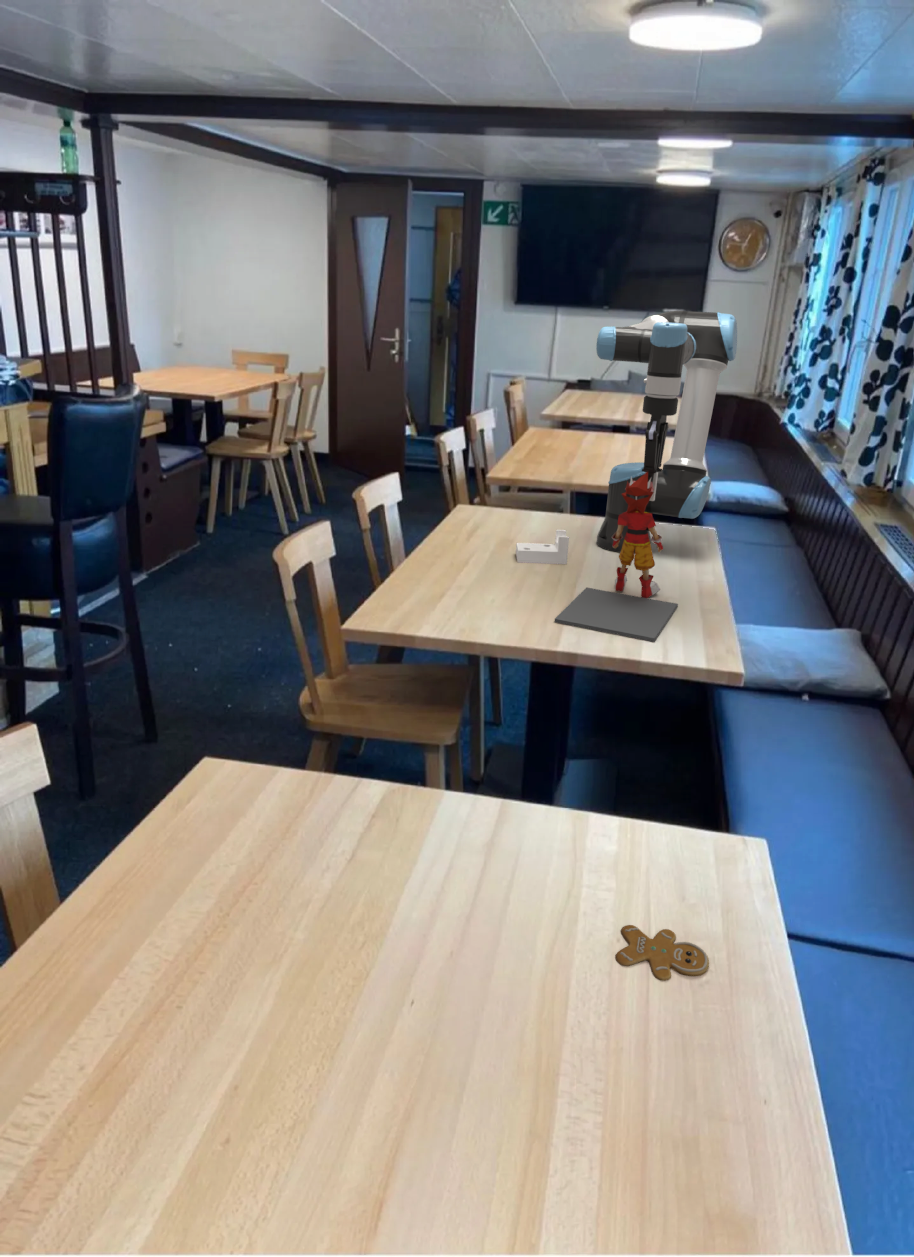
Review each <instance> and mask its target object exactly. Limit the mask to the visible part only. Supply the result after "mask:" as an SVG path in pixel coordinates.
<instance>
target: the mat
mask: <svg viewBox="0 0 914 1257" xmlns="http://www.w3.org/2000/svg"><path fill="white" fill-rule="evenodd" d="M678 605H679V604H678V603H676V602H670V601H664V600H659V599H654V598H650V597H649V598H643V597H641V596H636V595H633V594H632V595H631V594H627V593H626V594H625V593H619V592H616V591H615V592H614V591H609V590H603V589H597V588H592V587H585V588H584V590H582V591H581V592H580V593H579V594H578V595H577V596H576V597H575V598H574V599H572V601H571V602H570V603H569V604H568V605H567V606H566V607H565V608H564V609H563V610H562V611H561V612H560V613H559V614H558V615H557V616H556V617H555V618H554V623H557V624H561V625H567V626H572V627H577V628H581V629H587V630H592V631H596V632H597V631H598V632H603V633H606V634H607V633H609V634H612V635H618V636H622V637H627V638H632V639H633V638H634V639H637V640H638V639H639V640H642V641H643V640H644V641H646V642H653V643H655V641H656V640H657V638H658V637H659V635H661V632H662V630H664V628H665V627H666V625H668V622H669V620H670V619H671V618H672V616H673V614H674V612H676V611H677V609H678Z"/></svg>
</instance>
